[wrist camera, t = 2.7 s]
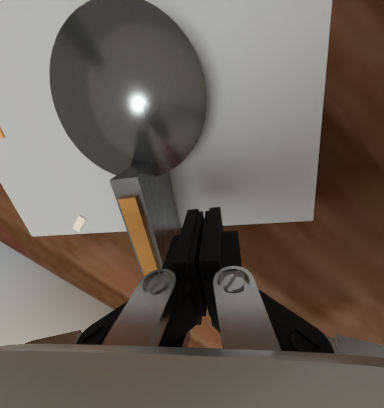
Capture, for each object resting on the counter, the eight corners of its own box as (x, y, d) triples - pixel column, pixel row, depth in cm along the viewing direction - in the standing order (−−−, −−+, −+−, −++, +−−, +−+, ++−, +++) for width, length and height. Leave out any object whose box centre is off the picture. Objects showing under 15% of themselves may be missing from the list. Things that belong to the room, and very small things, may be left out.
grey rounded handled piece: (52, 33, 13) (-48, -1, 8) (198, -10, 11) (174, -88, 6) (129, 246, 20) (97, 293, 15) (227, 242, 18) (226, 295, 13)
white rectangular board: (336, -211, 9) (357, -271, 7) (306, 211, 17) (313, 221, 16) (-93, -20, 14) (-129, -33, 13) (43, 228, 23) (30, 237, 21)
